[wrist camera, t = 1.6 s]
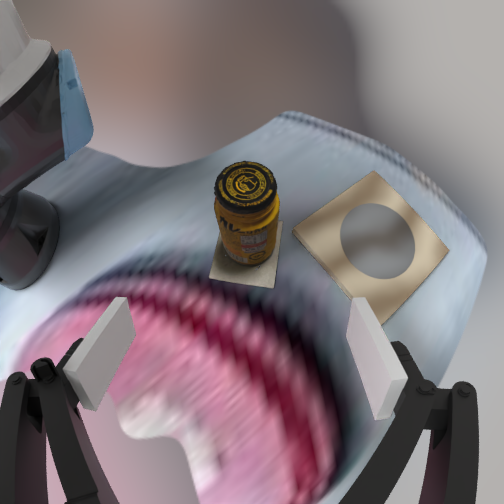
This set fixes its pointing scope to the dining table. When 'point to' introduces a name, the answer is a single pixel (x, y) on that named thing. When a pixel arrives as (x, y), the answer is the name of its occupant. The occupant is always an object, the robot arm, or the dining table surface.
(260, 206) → the condiment
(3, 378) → the dining table surface
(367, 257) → the board
